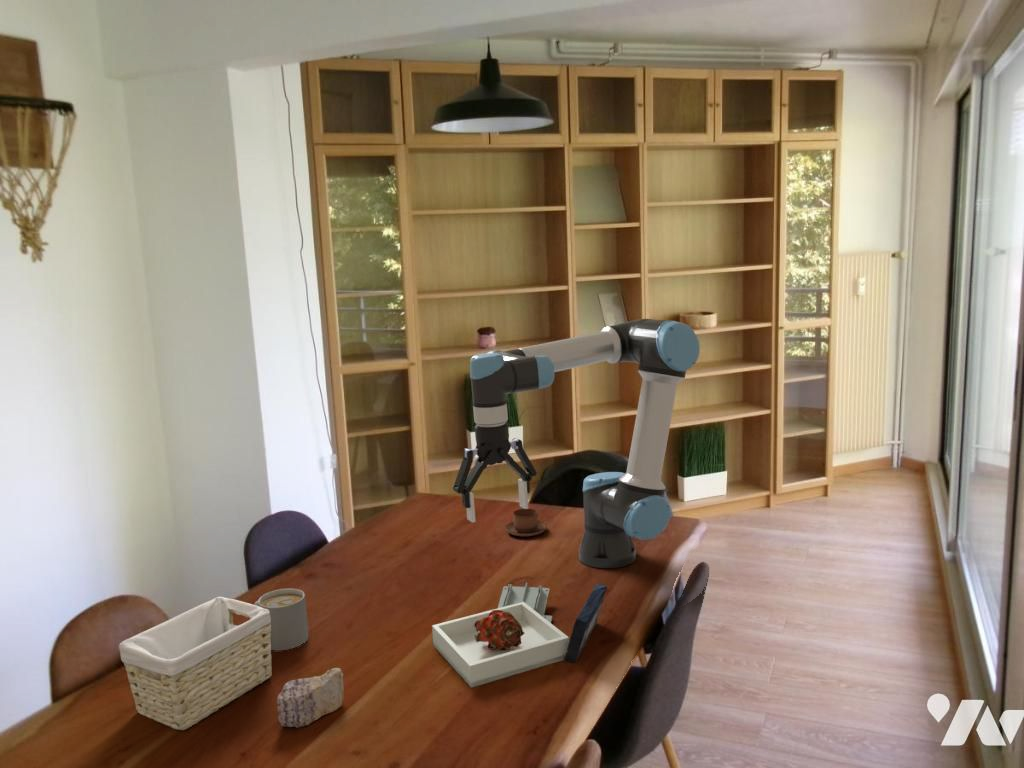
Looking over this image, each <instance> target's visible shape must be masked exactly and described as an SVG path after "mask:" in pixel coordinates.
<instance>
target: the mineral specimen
mask: <svg viewBox="0 0 1024 768" xmlns="http://www.w3.org/2000/svg"><path fill="white" fill-rule="evenodd" d="M344 690H345V687H344V672H343V671H342V669H341V668H340V667H334V668H333V667H332V668H331V669H328V670H326V671H325V673H323V674H322V675H318V676H316V675H314V676H311V677H306V678H305V677H304V678H303V677H302V678H298V679H293V680H288V681H287V682H285V684H284V685H283V687H282V689H281V692H280V693H279V694H278V695H277V700H276V705H277V712H278V714H277V715H278V716H277V717H278V721H279V724H280V725H281V727H286V728H288V727H289V728H292V727H295V728H297V729H298V728H301V727H304V726H308V725H310V724H311V723H313V722H315V721H317V720H318V719H319V718H321V717H323V716H325V715H328V714H331V713H333V712H334V711H336V710H338V709H340V707H341V708H342V703H343V701H344Z"/></svg>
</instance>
